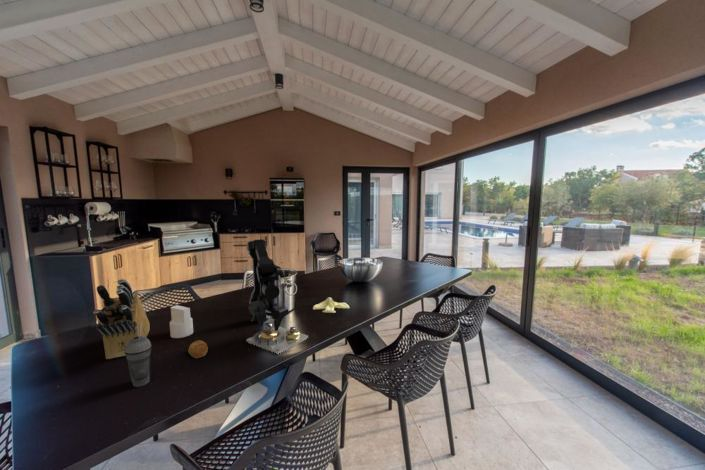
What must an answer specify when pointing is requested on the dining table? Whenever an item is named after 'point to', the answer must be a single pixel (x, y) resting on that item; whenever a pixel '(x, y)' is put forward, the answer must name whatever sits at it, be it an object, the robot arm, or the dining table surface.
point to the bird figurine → (330, 305)
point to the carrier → (279, 340)
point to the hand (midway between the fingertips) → (268, 328)
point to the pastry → (198, 349)
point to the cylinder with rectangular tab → (180, 322)
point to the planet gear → (268, 332)
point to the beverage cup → (139, 359)
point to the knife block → (120, 319)
